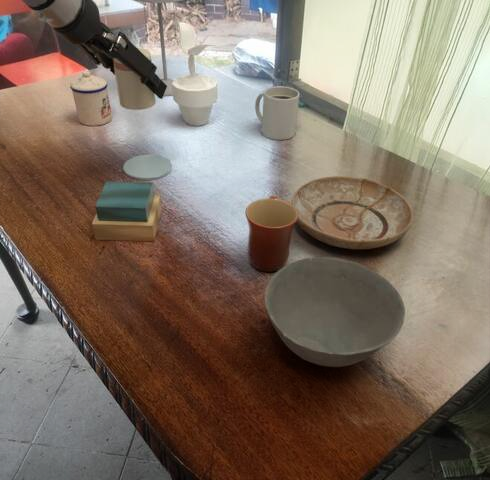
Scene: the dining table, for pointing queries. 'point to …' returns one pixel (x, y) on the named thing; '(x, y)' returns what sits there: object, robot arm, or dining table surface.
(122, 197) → the stack
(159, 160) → the coaster
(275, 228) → the mug
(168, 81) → the lamp
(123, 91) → the canister
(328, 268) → the bowl
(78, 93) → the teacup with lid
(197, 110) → the potted plant
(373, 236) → the ceramic bowl
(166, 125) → the dining table surface
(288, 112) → the mug
